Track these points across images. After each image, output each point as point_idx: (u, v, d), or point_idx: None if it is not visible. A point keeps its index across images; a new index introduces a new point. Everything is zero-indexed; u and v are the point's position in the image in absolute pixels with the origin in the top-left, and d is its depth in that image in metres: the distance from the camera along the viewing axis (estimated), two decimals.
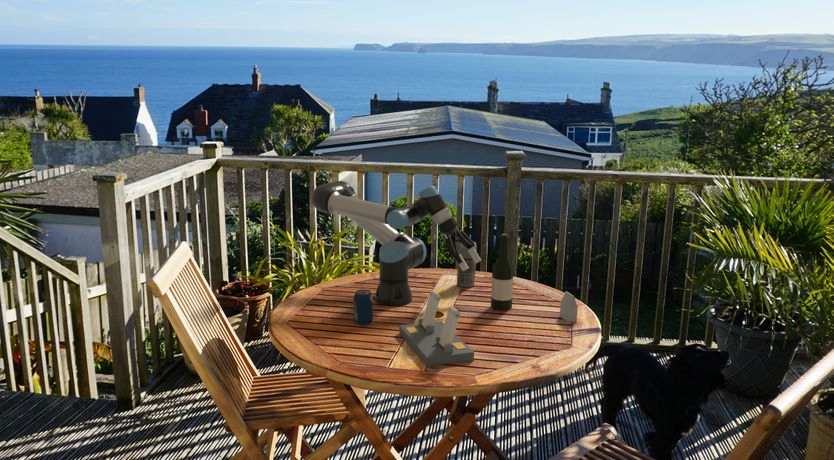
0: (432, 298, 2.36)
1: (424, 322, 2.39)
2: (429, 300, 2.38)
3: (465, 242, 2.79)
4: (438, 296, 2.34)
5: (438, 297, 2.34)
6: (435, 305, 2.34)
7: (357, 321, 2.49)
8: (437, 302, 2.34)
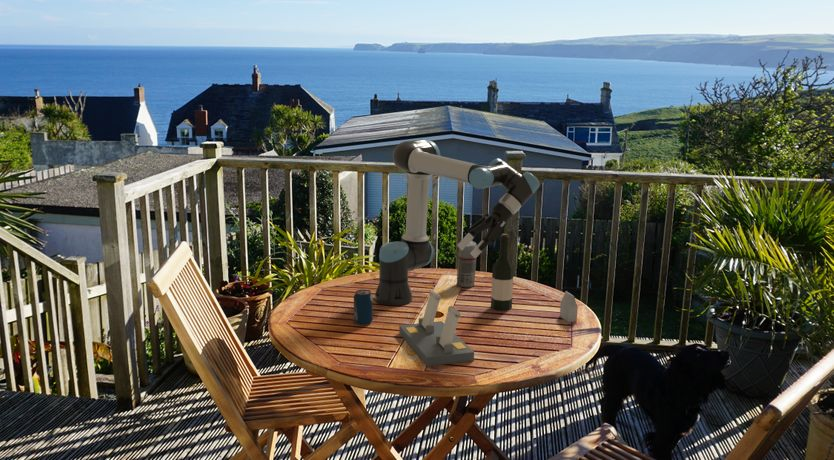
0: (432, 298, 2.36)
1: (424, 322, 2.39)
2: (429, 300, 2.38)
3: (480, 230, 2.52)
4: (438, 296, 2.34)
5: (438, 297, 2.34)
6: (435, 305, 2.34)
7: (357, 321, 2.49)
8: (437, 302, 2.34)
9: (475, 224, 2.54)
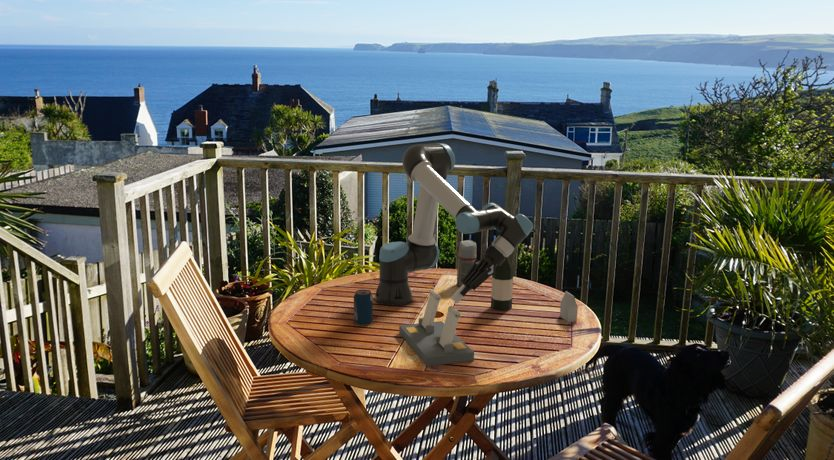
0: (432, 298, 2.36)
1: (424, 322, 2.39)
2: (429, 300, 2.38)
3: None
4: (438, 296, 2.34)
5: (438, 297, 2.34)
6: (435, 305, 2.34)
7: (357, 321, 2.49)
8: (437, 302, 2.34)
9: (468, 273, 2.42)
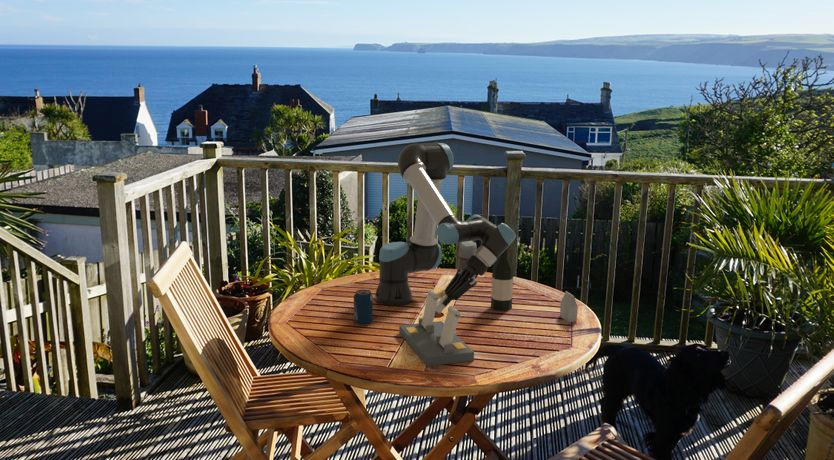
0: (430, 298, 2.36)
1: (423, 322, 2.39)
2: (427, 300, 2.38)
3: None
4: (436, 296, 2.34)
5: (436, 297, 2.34)
6: (434, 305, 2.34)
7: (357, 321, 2.49)
8: (435, 302, 2.34)
9: (451, 282, 2.41)
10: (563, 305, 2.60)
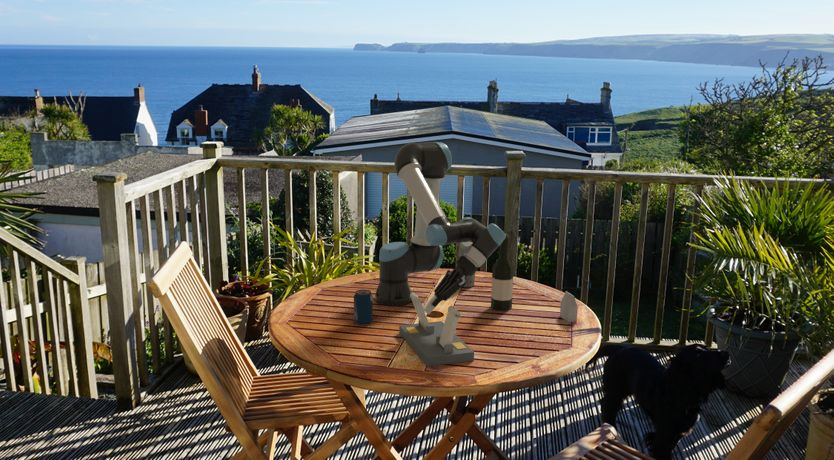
0: (414, 302, 2.34)
1: (421, 323, 2.39)
2: (414, 303, 2.37)
3: None
4: (417, 299, 2.32)
5: (418, 300, 2.32)
6: (420, 308, 2.33)
7: (357, 321, 2.49)
8: (420, 304, 2.32)
9: (440, 283, 2.40)
10: (563, 305, 2.59)
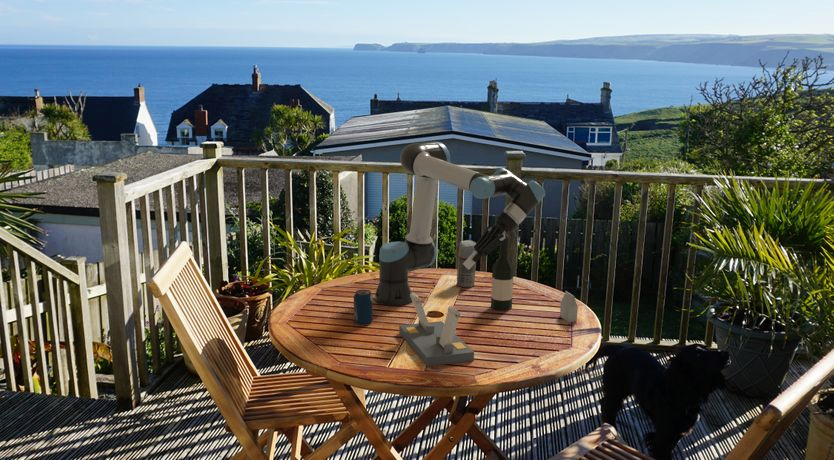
0: (414, 302, 2.34)
1: (421, 323, 2.39)
2: (414, 303, 2.37)
3: None
4: (417, 299, 2.32)
5: (418, 300, 2.32)
6: (420, 308, 2.33)
7: (357, 321, 2.49)
8: (420, 304, 2.32)
9: (480, 239, 2.44)
10: (563, 305, 2.60)
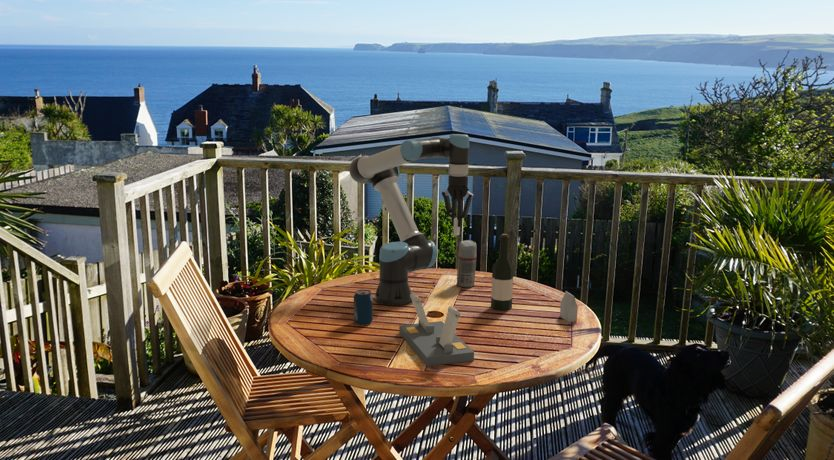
0: (414, 302, 2.34)
1: (421, 323, 2.39)
2: (414, 303, 2.37)
3: (456, 207, 2.64)
4: (417, 299, 2.32)
5: (418, 300, 2.32)
6: (420, 308, 2.33)
7: (357, 321, 2.49)
8: (420, 304, 2.32)
9: (448, 206, 2.64)
10: (563, 305, 2.60)
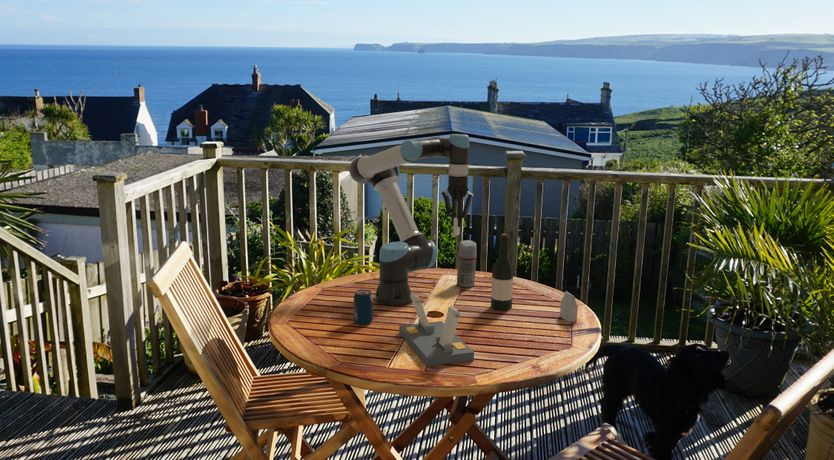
0: (414, 302, 2.34)
1: (421, 323, 2.39)
2: (414, 303, 2.37)
3: (456, 206, 2.64)
4: (417, 299, 2.32)
5: (418, 300, 2.32)
6: (420, 308, 2.33)
7: (357, 321, 2.49)
8: (420, 304, 2.32)
9: (448, 206, 2.64)
10: (563, 305, 2.59)
